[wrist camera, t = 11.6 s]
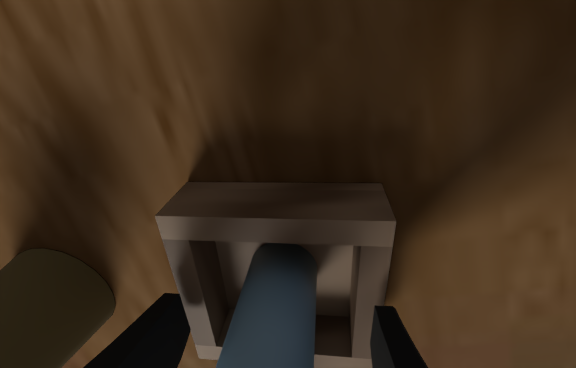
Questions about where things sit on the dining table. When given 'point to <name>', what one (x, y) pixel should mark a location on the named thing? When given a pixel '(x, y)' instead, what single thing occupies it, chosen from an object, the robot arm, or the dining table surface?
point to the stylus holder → (282, 229)
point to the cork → (49, 308)
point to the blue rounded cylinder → (274, 311)
